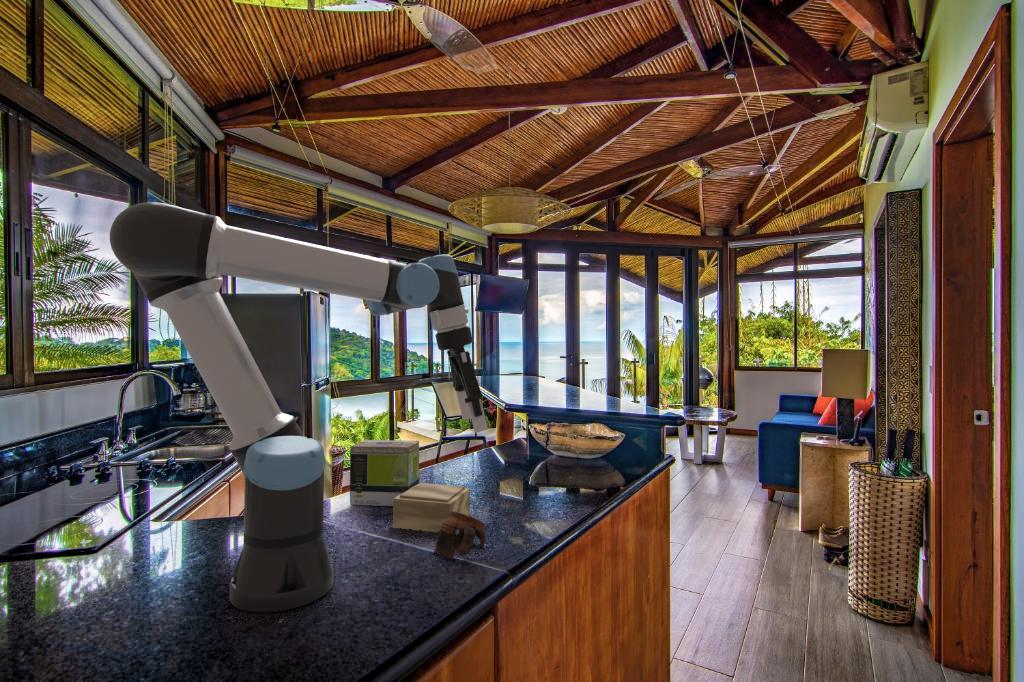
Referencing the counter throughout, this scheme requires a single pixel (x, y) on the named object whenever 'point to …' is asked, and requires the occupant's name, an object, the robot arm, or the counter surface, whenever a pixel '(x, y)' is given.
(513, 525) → the counter surface
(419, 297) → the robot arm
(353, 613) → the counter surface
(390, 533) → the counter surface
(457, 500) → the wooden box
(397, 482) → the tea box
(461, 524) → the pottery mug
